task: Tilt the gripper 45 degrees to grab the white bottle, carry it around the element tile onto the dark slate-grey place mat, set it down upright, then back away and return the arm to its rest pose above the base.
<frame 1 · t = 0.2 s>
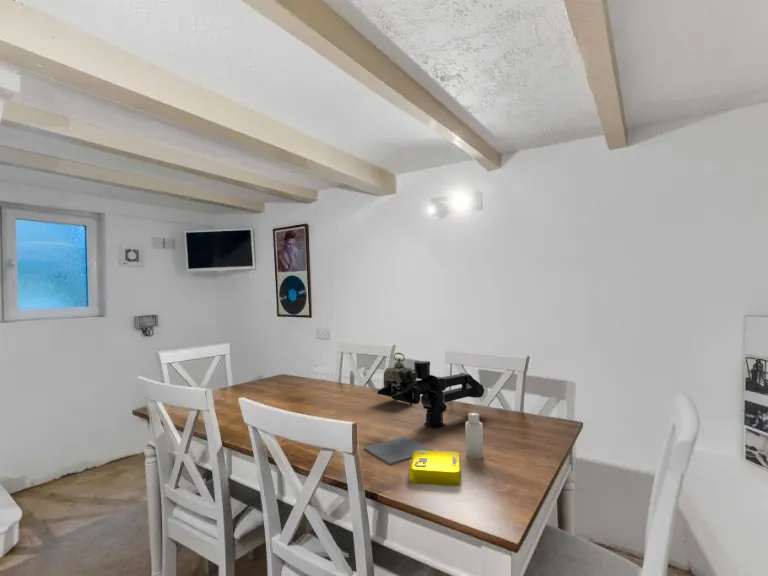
hand: (384, 394, 153), 17 cm above the table, tool horizontal, fingers open, 9 cm apart
white bottle: (474, 455, 136), on the table
slate mat: (397, 450, 141), on the table
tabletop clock: (399, 404, 199), on the table
element tile: (435, 474, 124), on the table
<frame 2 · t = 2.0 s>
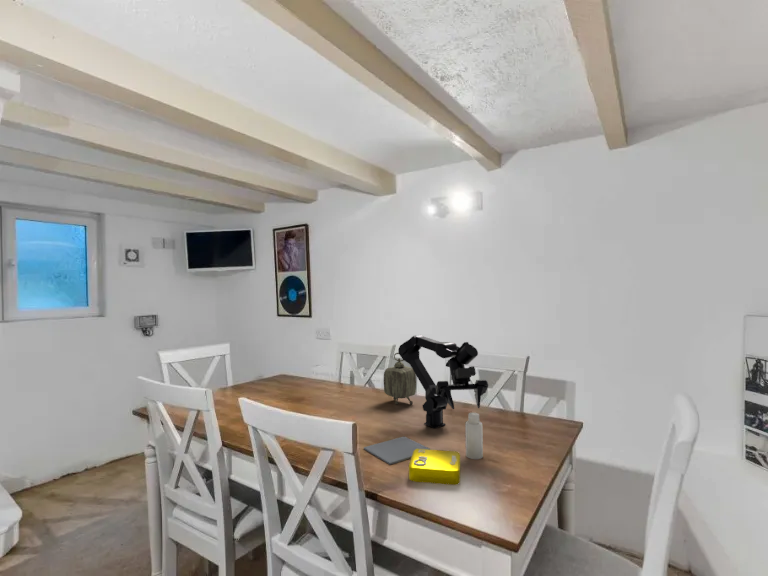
hand: (466, 408, 144), 14 cm above the table, tool tilted 45°, fingers open, 9 cm apart
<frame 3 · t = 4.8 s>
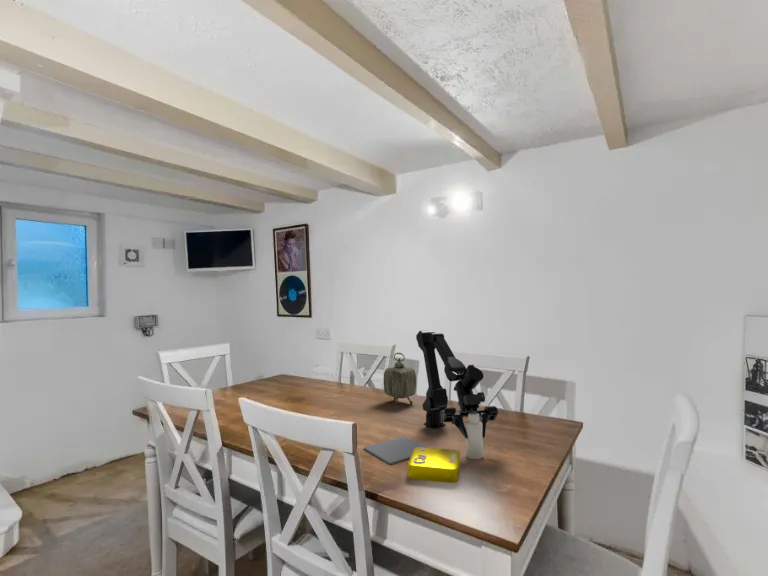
hand: (475, 437, 135), 7 cm above the table, tool tilted 45°, fingers closed on white bottle, 6 cm apart
white bottle: (474, 455, 136), on the table, touching gripper
element tile: (434, 471, 126), on the table
everything else where it was.
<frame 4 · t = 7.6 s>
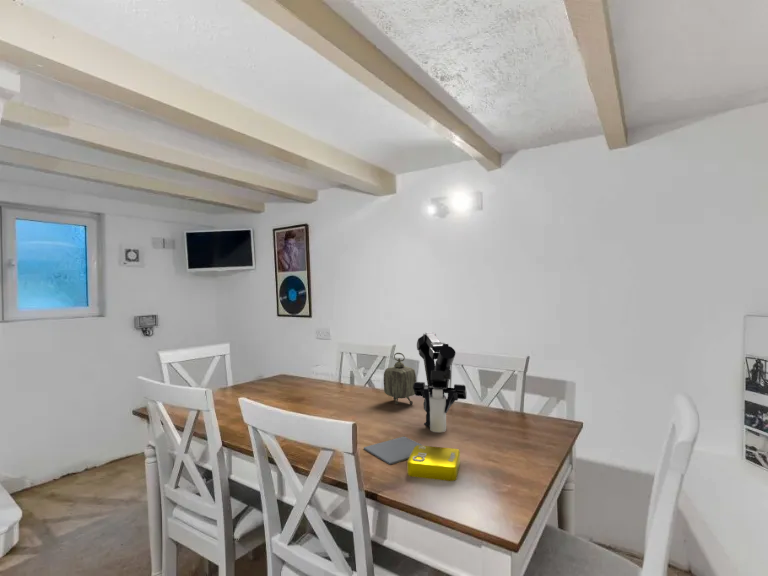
hand: (437, 411, 140), 14 cm above the table, tool tilted 45°, fingers closed on white bottle, 6 cm apart
white bottle: (438, 429, 142), point 7 cm above the table, touching gripper
element tile: (434, 469, 127), on the table
everything else where it was.
when the fingers open (8 cm above the table, at t = 10.2 s): white bottle drops 1 cm, resting on slate mat.
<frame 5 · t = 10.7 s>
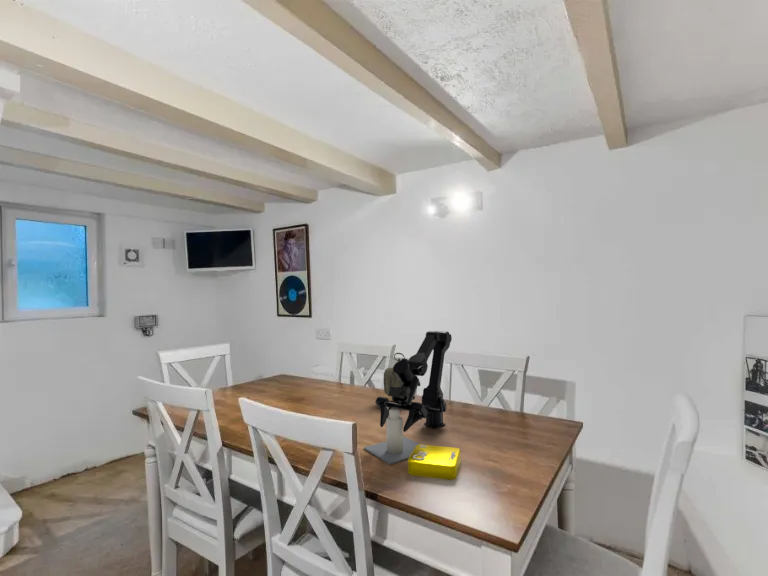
hand: (392, 428, 138), 9 cm above the table, tool tilted 45°, fingers open, 9 cm apart
white bottle: (394, 450, 140), point 1 cm above the table, touching slate mat
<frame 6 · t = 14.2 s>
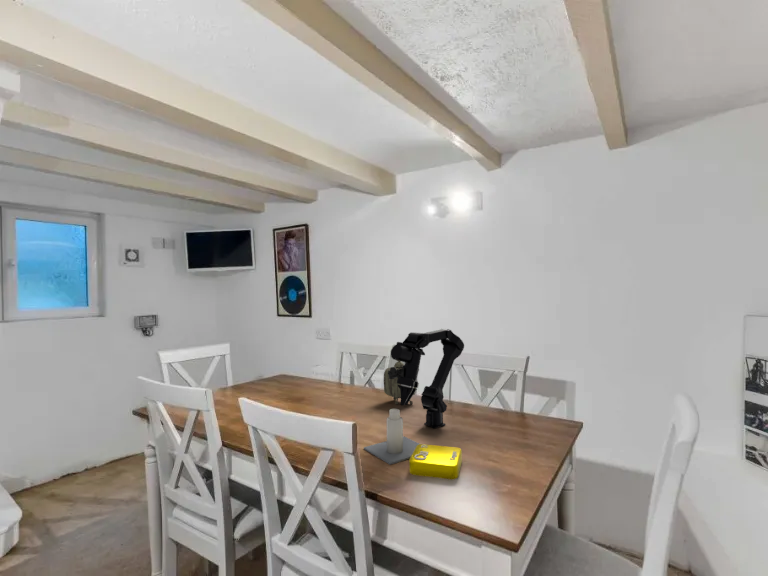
hand: (403, 405, 154), 12 cm above the table, tool tilted 20°, fingers open, 9 cm apart
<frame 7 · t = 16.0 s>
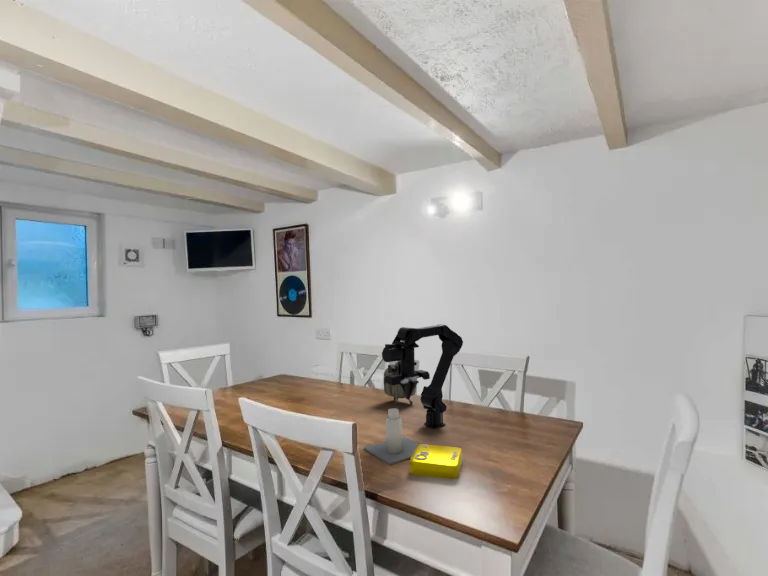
hand: (407, 399, 159), 13 cm above the table, tool pointing down, fingers closed
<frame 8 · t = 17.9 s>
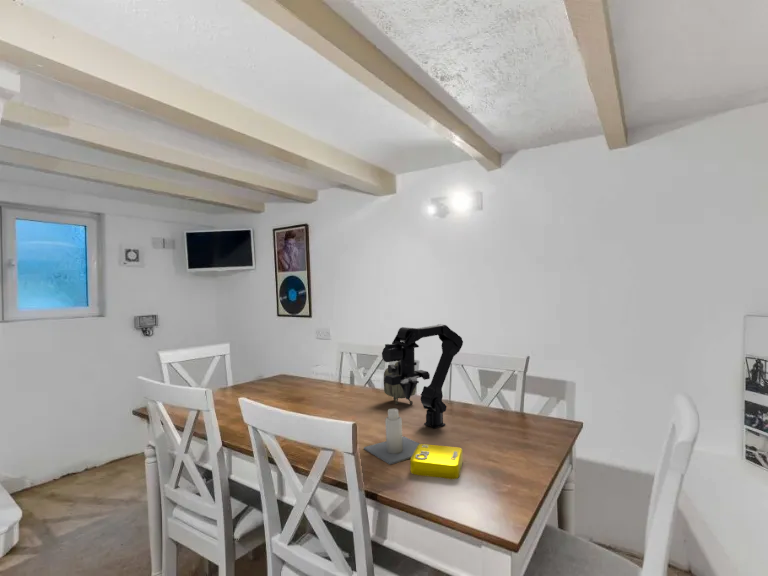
hand: (407, 399, 159), 13 cm above the table, tool pointing down, fingers closed
at the end: white bottle inside the target area on the slate mat (2.1 cm from its centre), point 0.7 cm above the slate mat's base; white bottle tilted 3°; the gripper is holding nothing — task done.
